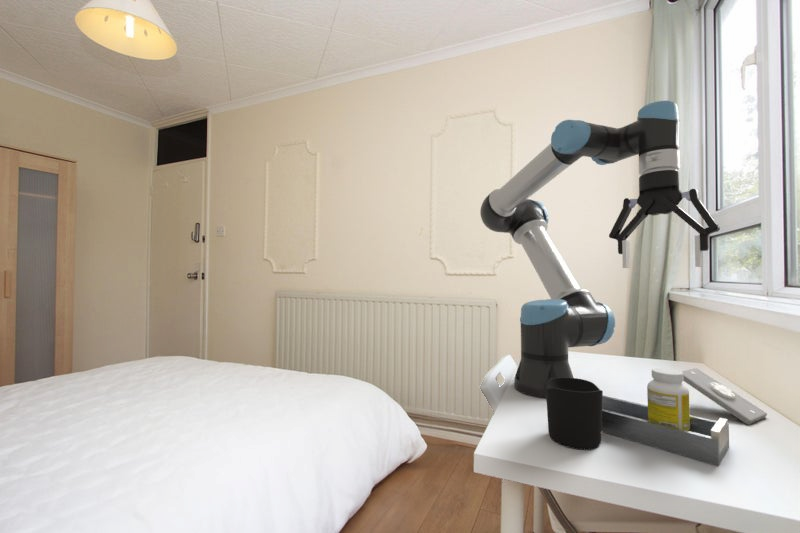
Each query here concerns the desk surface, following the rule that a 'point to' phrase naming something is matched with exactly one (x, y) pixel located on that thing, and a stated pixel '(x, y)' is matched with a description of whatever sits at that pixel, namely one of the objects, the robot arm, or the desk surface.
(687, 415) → the pill bottle
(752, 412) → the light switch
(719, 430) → the rail
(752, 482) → the desk surface
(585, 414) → the pen holder
